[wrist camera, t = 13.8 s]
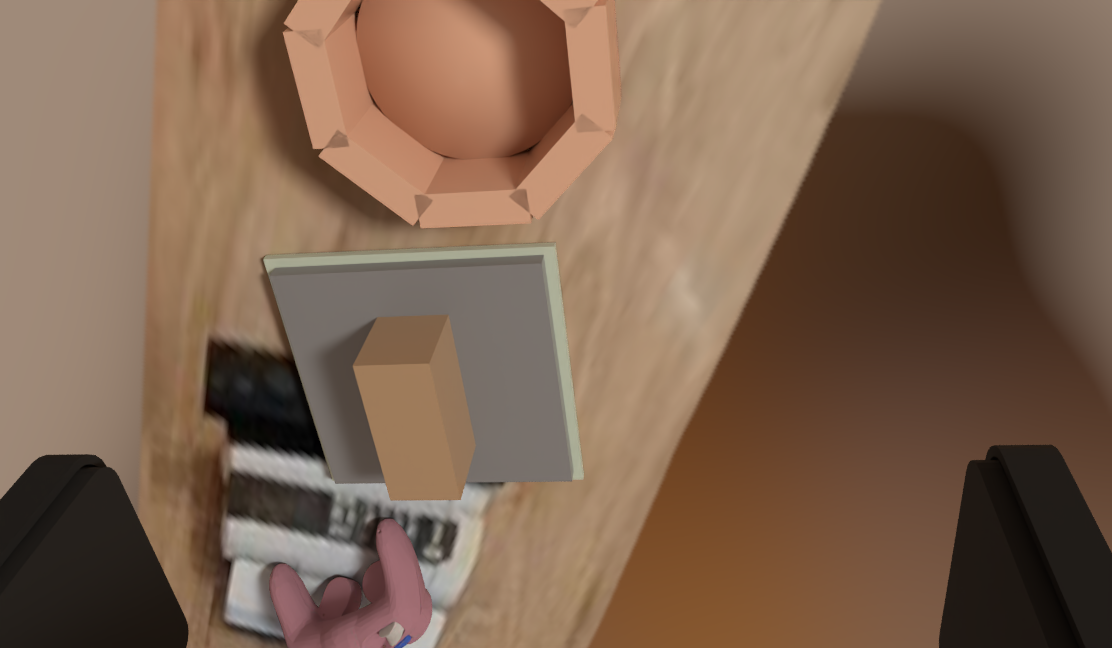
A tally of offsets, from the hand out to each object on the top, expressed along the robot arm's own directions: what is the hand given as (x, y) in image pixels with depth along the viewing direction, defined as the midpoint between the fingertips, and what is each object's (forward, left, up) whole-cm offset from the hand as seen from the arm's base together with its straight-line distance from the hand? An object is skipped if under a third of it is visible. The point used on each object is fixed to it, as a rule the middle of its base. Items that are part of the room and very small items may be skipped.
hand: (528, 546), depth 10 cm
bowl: (+3, -7, -30) cm, 31 cm away
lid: (+19, -11, -30) cm, 37 cm away
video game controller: (+33, -19, -31) cm, 49 cm away
